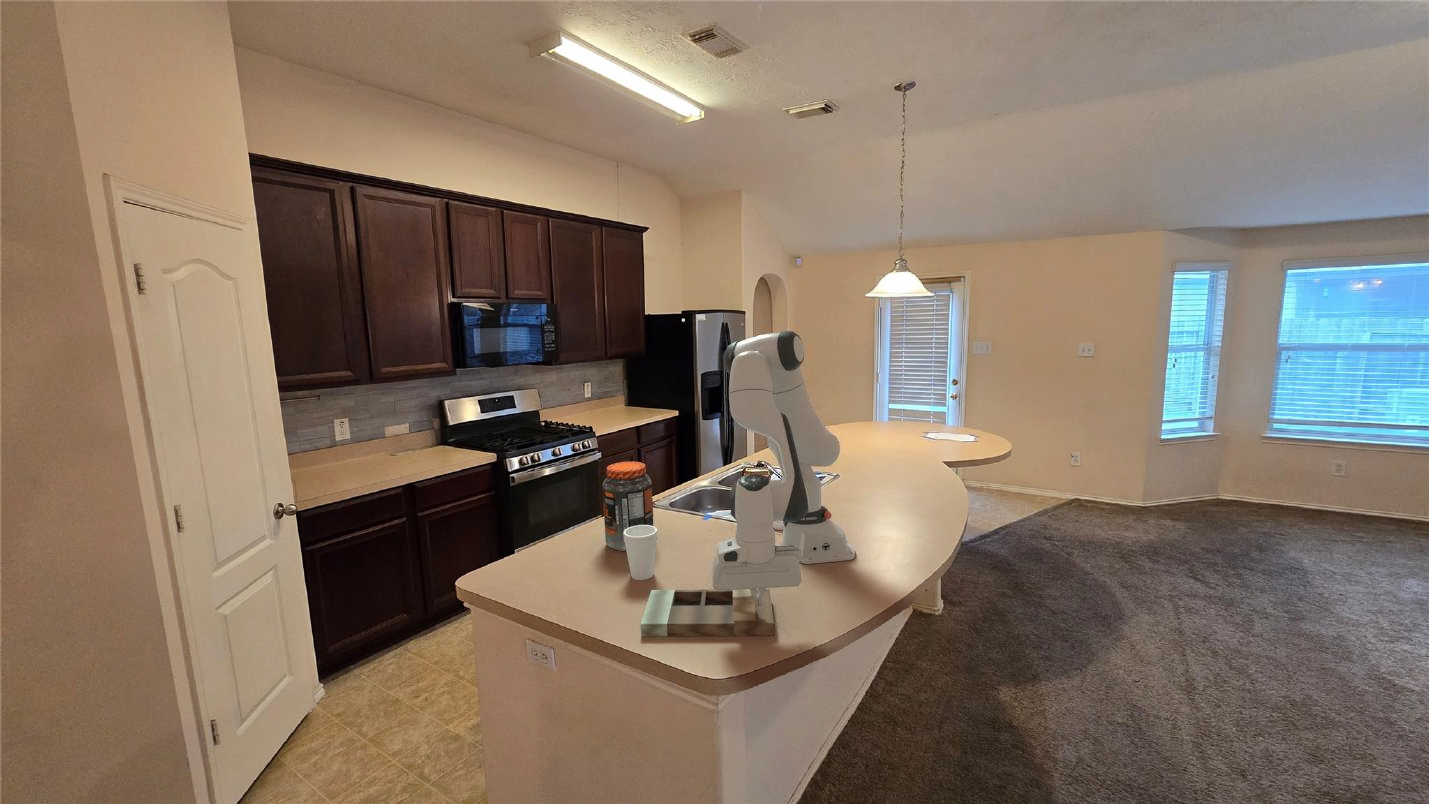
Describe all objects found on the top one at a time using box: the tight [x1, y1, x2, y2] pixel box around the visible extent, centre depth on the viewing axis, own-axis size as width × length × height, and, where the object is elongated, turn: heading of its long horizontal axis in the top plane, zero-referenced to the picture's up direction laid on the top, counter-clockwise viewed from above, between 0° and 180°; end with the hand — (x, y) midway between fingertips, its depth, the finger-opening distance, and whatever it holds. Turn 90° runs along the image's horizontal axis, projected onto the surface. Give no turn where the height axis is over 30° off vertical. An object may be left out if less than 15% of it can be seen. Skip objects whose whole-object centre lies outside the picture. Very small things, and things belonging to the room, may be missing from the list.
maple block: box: [733, 589, 756, 621], centre depth 125 cm, size 5×5×5 cm
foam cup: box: [624, 525, 658, 581], centre depth 153 cm, size 10×9×13 cm
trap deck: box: [640, 588, 775, 637], centre depth 130 cm, size 30×16×3 cm, turn 88°
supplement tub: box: [601, 461, 654, 552], centre depth 176 cm, size 16×16×26 cm
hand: (757, 604), depth 125 cm, fingers closed, pressing on maple block
